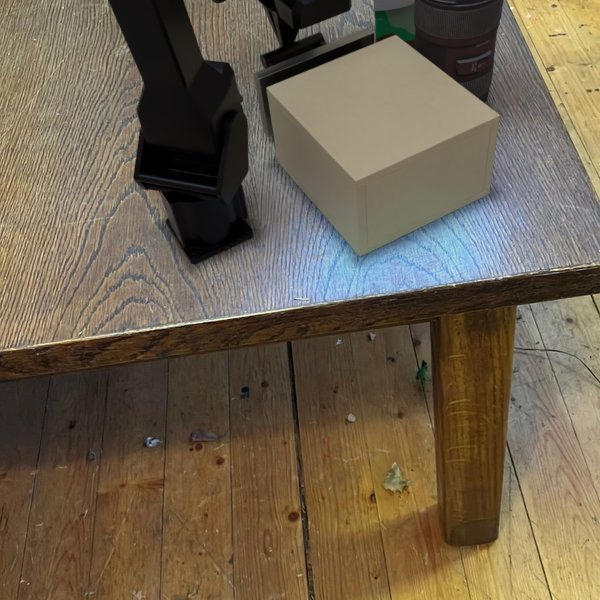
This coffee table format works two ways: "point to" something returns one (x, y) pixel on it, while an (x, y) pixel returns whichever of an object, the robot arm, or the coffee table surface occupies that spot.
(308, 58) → the dark open box
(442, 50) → the camera lens
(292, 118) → the tan cardboard box
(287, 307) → the coffee table surface
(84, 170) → the coffee table surface
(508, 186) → the coffee table surface
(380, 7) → the food container
